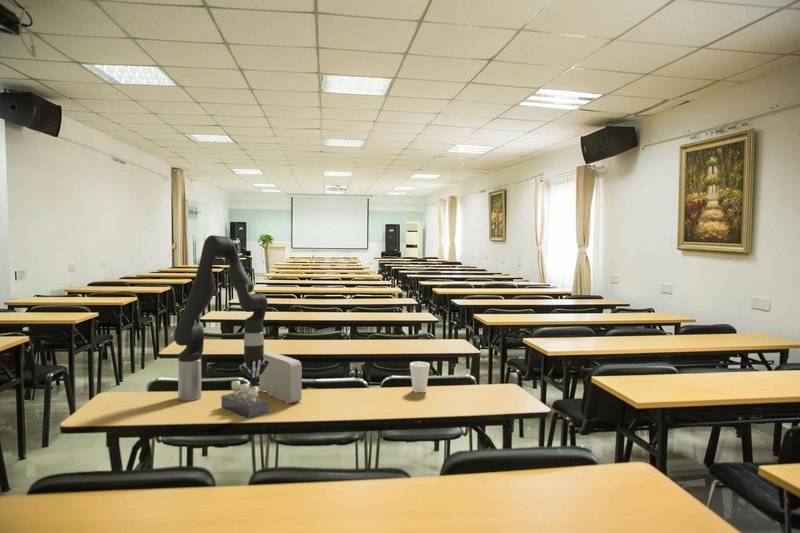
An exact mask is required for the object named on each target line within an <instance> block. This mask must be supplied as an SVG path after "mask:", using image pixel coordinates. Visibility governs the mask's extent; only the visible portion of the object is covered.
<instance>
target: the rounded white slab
mask: <svg viewBox="0 0 800 533" xmlns="http://www.w3.org/2000/svg"><path fill="white" fill-rule="evenodd" d="M263 357H264V359H265V360H266V361H269V363H268V365H267V367H266V368H265V370H264V372H263V373H262V374H260V375H259V376H258V385H259V390H260V391H261V392H262V391H266V392H267V393H268V394H270V395H269V396H271V395H272V396H271V397H273V396H275V397H277V398H279V399H281V400H283V401H285V402H284V403H286V402H288V403H290V404H294V403H297V401H298V402H301V400H302V397H303V396H302V392H303V391H302V385H303V384H302V383H303V382H302V381H303V380H302V379H303V378H302V376H303V375H302V374H303V373H302V371H303V368H302V362H301V361H300V360H298V359H295V358H292V357H289V356H286V355H282V354H280V353H276V352H274V351H269V352H264V354H263ZM268 394H267V395H268ZM275 397H274V398H275ZM277 398H276V399H277ZM279 399H278V400H279ZM281 400H280V401H281ZM283 401H282V402H283ZM293 402H294V403H293ZM288 403H287V404H288Z"/></svg>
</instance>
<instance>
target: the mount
mask: <svg viewBox="0 0 800 533" xmlns="http://www.w3.org/2000/svg"><path fill="white" fill-rule="evenodd" d="M220 405H221V406H220V407H222V408H221V409H224V410H227V411H229V412H231V413H234V414H235V415H238V416H240V417H244V418H245V419H248V420H249V419H253V418H257V417H259V416H262V415H265V414H269V400H268V399H265V398H262V397H259V396H256V402H254V403H252V397H251V396H249V392H248V393H247V399H243V393H240V390H238V396H234V392H231V393H228V394H224V395H223V394H222V395H221V404H220Z"/></svg>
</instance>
